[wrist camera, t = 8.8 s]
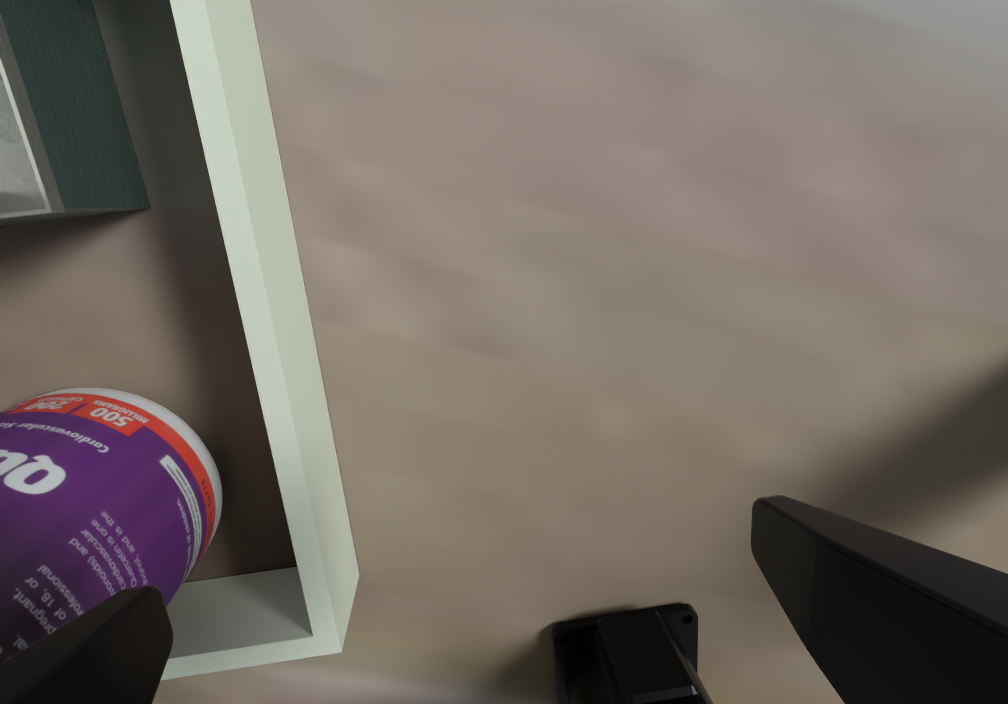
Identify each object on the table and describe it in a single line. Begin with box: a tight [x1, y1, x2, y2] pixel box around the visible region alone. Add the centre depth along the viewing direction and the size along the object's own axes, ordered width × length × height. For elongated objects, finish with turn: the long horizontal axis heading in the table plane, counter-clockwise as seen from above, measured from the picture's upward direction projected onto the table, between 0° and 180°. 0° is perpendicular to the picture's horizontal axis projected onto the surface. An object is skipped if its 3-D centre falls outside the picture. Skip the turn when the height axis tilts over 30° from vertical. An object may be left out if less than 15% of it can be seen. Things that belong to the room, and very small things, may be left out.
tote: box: [160, 0, 359, 681], centre depth 16 cm, size 23×16×4 cm
